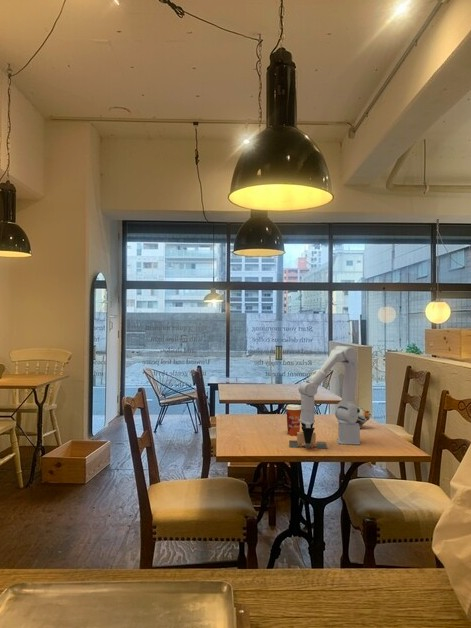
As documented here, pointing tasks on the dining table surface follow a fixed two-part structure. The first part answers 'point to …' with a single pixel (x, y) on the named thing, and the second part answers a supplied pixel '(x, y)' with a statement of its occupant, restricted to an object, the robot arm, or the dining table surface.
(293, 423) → the paper cup
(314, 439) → the tan rectangular block
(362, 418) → the lucky cat figurine
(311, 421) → the robot arm
